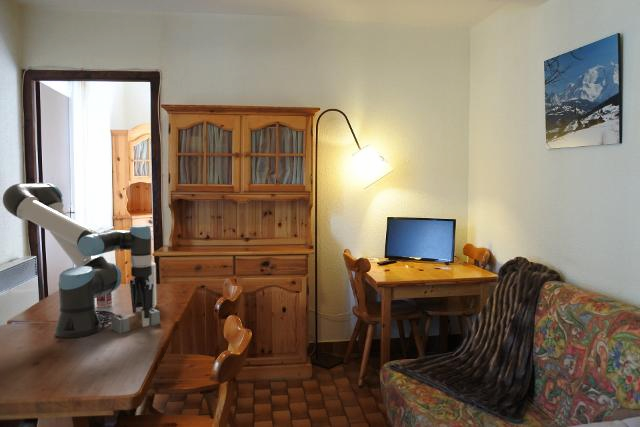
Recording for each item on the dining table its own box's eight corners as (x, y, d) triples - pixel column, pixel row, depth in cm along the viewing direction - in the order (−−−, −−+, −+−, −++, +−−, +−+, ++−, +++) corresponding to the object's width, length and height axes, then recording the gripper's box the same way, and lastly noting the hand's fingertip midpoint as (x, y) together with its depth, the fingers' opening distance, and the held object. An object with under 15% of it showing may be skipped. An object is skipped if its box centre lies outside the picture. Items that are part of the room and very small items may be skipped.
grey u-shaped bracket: (120, 326, 191) (120, 313, 191) (129, 330, 186) (129, 317, 186) (111, 328, 189) (111, 315, 188) (120, 333, 184) (120, 319, 183)
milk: (140, 308, 216) (138, 258, 214) (142, 305, 222) (141, 256, 220) (155, 308, 217) (153, 258, 215) (156, 304, 223) (155, 255, 221)
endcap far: (151, 325, 193) (151, 312, 192) (142, 321, 198) (142, 309, 197) (159, 323, 195) (159, 311, 195) (150, 319, 200) (150, 307, 200)
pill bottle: (109, 303, 224) (108, 279, 223) (113, 306, 219) (113, 281, 218) (94, 305, 220) (94, 280, 219) (98, 308, 216) (98, 283, 215)
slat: (124, 331, 186) (123, 317, 186) (119, 328, 188) (119, 316, 188) (153, 323, 195) (152, 311, 195) (148, 321, 197) (148, 309, 197)
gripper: (161, 267, 189) (162, 327, 191) (139, 261, 200) (141, 318, 202) (143, 269, 183) (144, 331, 185) (121, 264, 195) (123, 322, 197)
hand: (142, 324), depth 194 cm, fingers closed on slat, 4 cm apart
